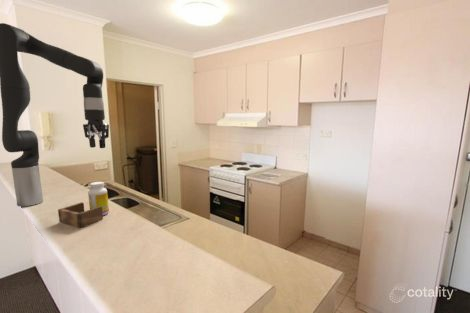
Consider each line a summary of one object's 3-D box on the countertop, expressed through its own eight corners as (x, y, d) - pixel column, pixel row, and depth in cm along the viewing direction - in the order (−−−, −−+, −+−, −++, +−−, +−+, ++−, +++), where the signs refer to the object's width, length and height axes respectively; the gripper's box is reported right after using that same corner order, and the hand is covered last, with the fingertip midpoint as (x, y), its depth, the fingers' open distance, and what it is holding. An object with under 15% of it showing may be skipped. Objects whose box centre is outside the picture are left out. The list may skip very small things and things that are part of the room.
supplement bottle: (112, 211, 101) (110, 181, 99) (102, 217, 95) (99, 185, 93) (97, 210, 102) (94, 180, 100) (86, 216, 95) (83, 185, 94)
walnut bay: (59, 222, 90) (57, 209, 89) (82, 214, 98) (81, 202, 97) (80, 228, 85) (78, 214, 84) (103, 219, 93) (101, 206, 92)
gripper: (74, 109, 105) (78, 147, 107) (97, 108, 99) (100, 149, 101) (91, 109, 112) (94, 146, 114) (113, 108, 106) (116, 147, 108)
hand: (97, 147), depth 108 cm, fingers open, 5 cm apart
